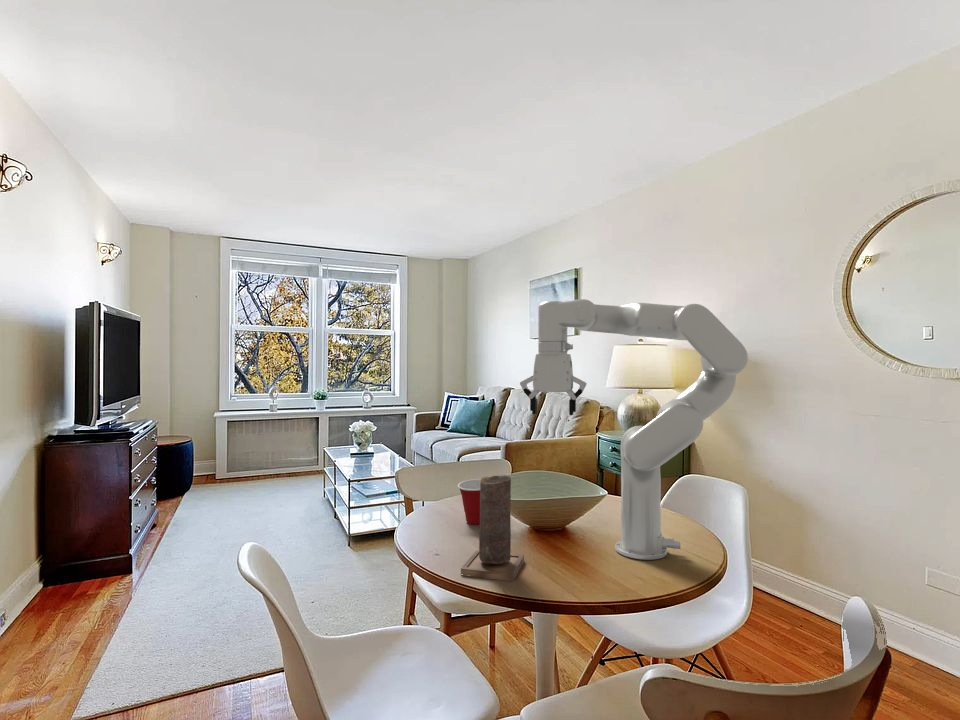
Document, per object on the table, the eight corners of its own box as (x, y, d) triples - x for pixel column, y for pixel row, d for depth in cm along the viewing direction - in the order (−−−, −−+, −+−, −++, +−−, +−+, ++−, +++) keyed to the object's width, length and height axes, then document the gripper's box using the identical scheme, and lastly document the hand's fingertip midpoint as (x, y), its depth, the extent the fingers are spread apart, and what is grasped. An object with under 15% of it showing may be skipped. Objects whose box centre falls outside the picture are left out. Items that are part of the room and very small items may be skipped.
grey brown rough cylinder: (512, 568, 121) (512, 480, 121) (480, 569, 120) (480, 480, 120) (508, 556, 128) (508, 473, 128) (478, 557, 128) (478, 473, 128)
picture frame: (523, 561, 128) (523, 555, 128) (512, 581, 117) (512, 574, 117) (476, 556, 132) (476, 550, 132) (460, 575, 120) (460, 568, 120)
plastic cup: (450, 522, 159) (450, 482, 159) (477, 515, 166) (477, 477, 167) (474, 531, 151) (474, 488, 151) (501, 523, 158) (501, 483, 158)
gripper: (587, 348, 141) (587, 413, 141) (523, 349, 145) (523, 412, 145) (585, 348, 133) (585, 416, 133) (517, 348, 138) (517, 414, 138)
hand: (552, 414), depth 139 cm, fingers open, 9 cm apart
